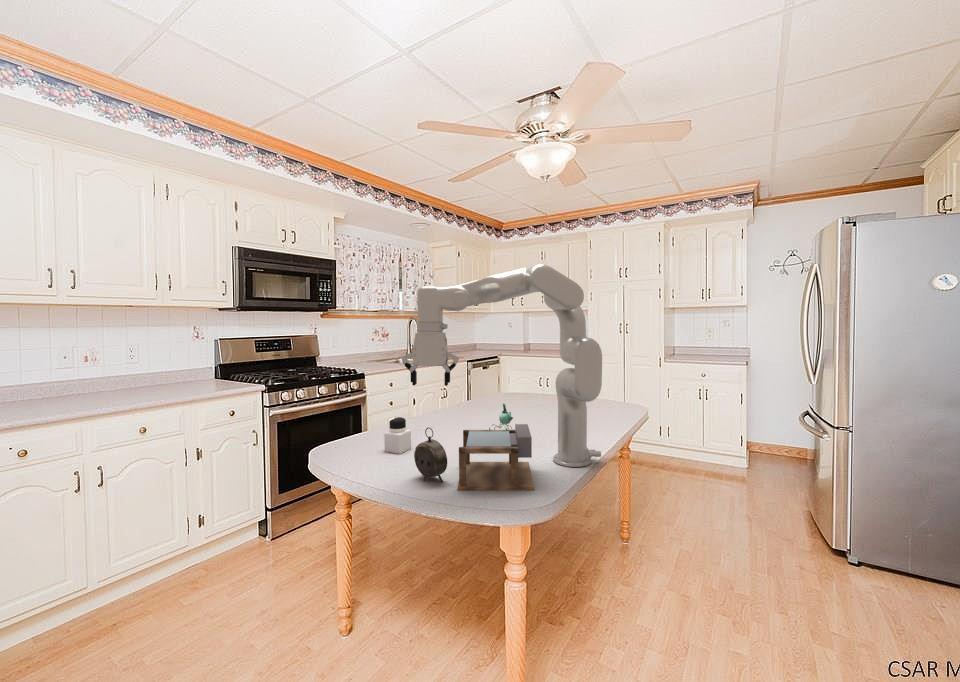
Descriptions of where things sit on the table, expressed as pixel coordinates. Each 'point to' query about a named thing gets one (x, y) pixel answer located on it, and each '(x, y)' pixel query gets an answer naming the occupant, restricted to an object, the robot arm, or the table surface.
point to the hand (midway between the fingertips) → (430, 384)
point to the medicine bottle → (397, 436)
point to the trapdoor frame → (492, 469)
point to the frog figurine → (504, 418)
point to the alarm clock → (430, 458)
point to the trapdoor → (504, 439)
